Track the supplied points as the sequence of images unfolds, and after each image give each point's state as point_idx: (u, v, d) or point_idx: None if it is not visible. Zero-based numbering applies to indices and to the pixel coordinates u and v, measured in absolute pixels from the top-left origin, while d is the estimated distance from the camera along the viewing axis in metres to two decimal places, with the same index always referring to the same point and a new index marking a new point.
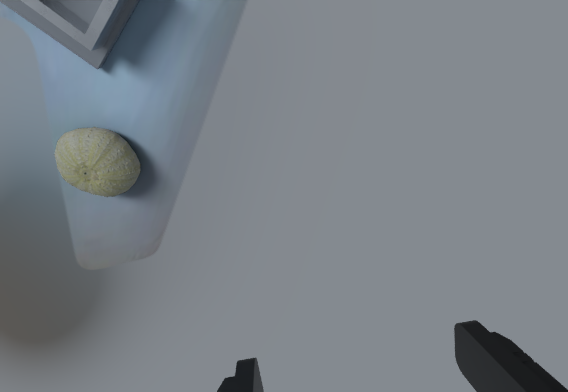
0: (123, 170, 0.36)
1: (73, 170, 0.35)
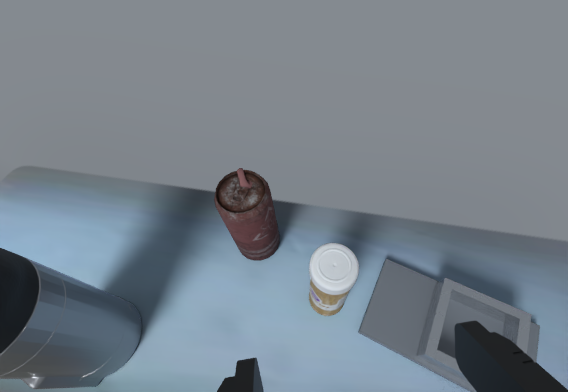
0: None
1: None
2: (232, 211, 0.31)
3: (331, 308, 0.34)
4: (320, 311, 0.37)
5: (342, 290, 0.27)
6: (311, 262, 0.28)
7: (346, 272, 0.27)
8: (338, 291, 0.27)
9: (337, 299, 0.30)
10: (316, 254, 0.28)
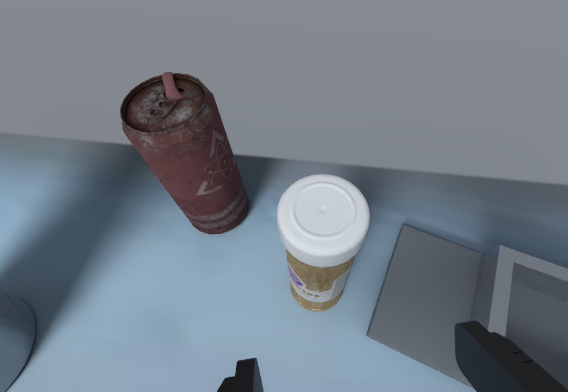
0: None
1: None
2: (146, 132, 0.18)
3: (322, 297, 0.21)
4: (306, 304, 0.24)
5: (339, 255, 0.14)
6: (280, 207, 0.15)
7: (346, 221, 0.14)
8: (331, 258, 0.14)
9: (331, 279, 0.17)
10: (290, 193, 0.15)
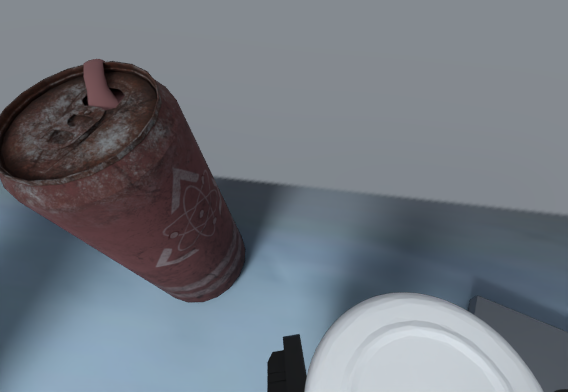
0: None
1: None
2: (30, 178, 0.09)
3: None
4: None
5: None
6: None
7: None
8: None
9: None
10: (338, 353, 0.06)
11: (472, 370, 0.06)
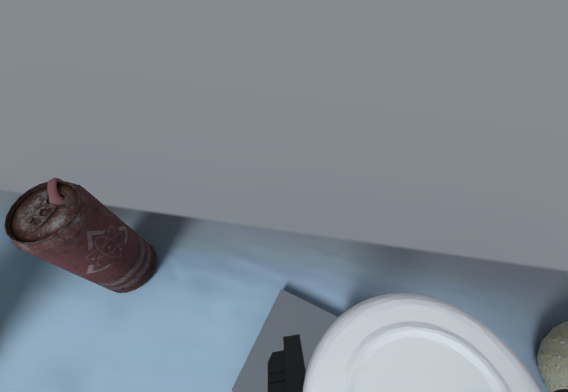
0: None
1: None
2: (23, 240, 0.22)
3: None
4: None
5: None
6: None
7: None
8: None
9: None
10: (335, 353, 0.06)
11: (470, 371, 0.06)
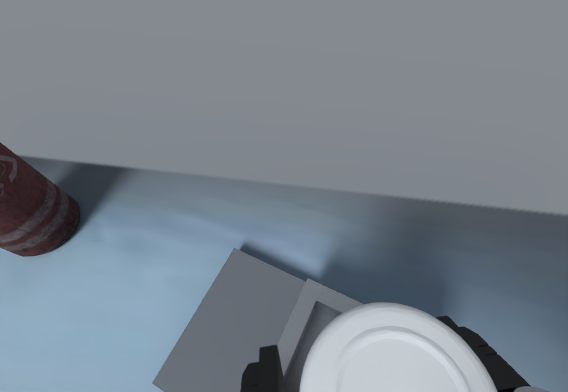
0: None
1: None
2: None
3: None
4: None
5: None
6: (306, 390, 0.07)
7: None
8: None
9: None
10: (327, 352, 0.07)
11: (436, 367, 0.07)
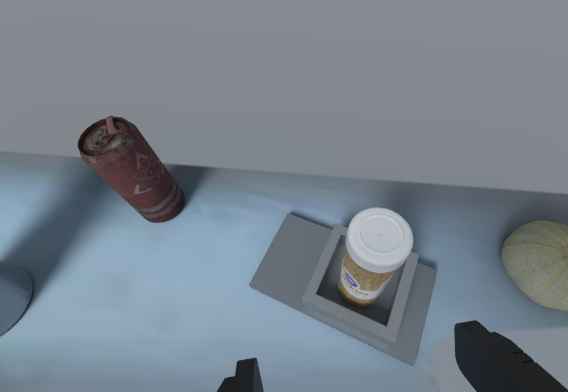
0: (542, 225, 0.31)
1: None
2: (92, 155, 0.29)
3: (370, 296, 0.27)
4: (354, 302, 0.30)
5: (394, 265, 0.20)
6: (350, 232, 0.21)
7: (398, 241, 0.21)
8: (389, 267, 0.20)
9: (381, 281, 0.24)
10: (356, 221, 0.22)
11: (392, 223, 0.21)
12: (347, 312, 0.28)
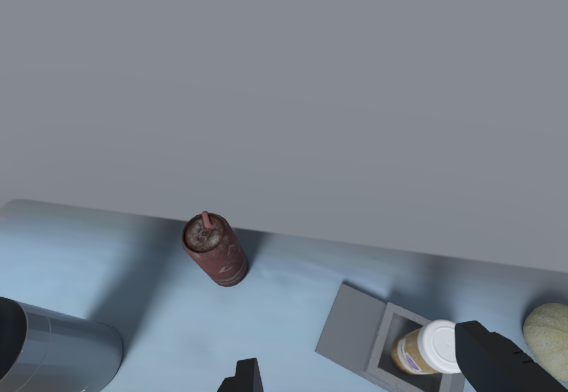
0: (558, 310, 0.38)
1: None
2: (196, 251, 0.35)
3: None
4: (407, 372, 0.37)
5: None
6: (425, 342, 0.28)
7: None
8: (456, 372, 0.27)
9: None
10: (429, 333, 0.28)
11: None
12: (404, 384, 0.35)
